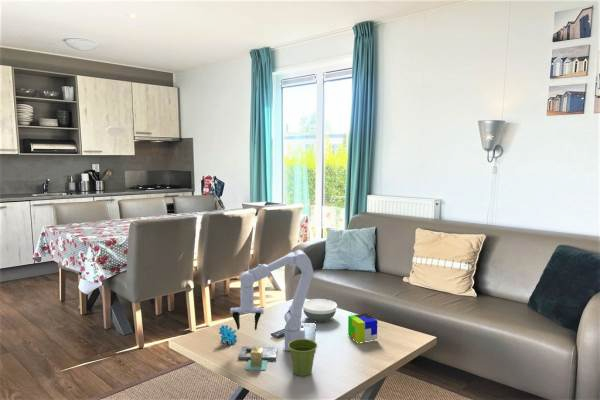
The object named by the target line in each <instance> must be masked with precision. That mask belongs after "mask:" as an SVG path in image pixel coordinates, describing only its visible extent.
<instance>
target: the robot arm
mask: <svg viewBox="0 0 600 400" xmlns="http://www.w3.org/2000/svg"><path fill="white" fill-rule="evenodd" d="M285 266H291V267H295V266H296V267H297V268H299V270H300V271H301V274H300V278H299V281H298V283H297V286H296V290H295V293H294V297H293V300H292V303H291V305H290V306H289V307H288V310H287V311H286V312H285V314H284V316H283V317H284V321H285V325H284V341H283V349H282V350H283V351H289V352H290V349H289V347H288V343H289V342H291V341H293V340H296V339H306V327H301V326H302V321H301V319H302V314H303V313H302V311H303V305H304V302H305V301H306V298H307V294H308V292H309V288H310V286H311V282H312V279H313V277H314V268H313V265H312V261H311V259H310V258H309V256H308V255H307V254H306V253H305V251H303V250H302V249H296V250H294V251H291V252H289V253H287V254H285V255H283V256H282V257H280V258H277V259H276V260H274V261H272V262H270V263H268V264H266V263H262V264H261V263H259V264H257V266H256V267H254V268H250V269H247V270H248V271H243V272H242V273H241V274H240V276H239V280H240V306H239V307H231V308H230V310H229V311H230V314H232V319H233V320H234V322H235V325H236V328H237V330H236V331H239V330H240V326H241V324H240V323H241V322H240V321H241V320H240V317H241V316H240V314H254V331H257V329H258V323H259V320H260V318H261V315H264V313H265V311H264V308H263V307H256V306H254V283H257V282H259V281H261V280H263V279H265V278H267V277H269V276H270V274H271V272H273V271H276V270H279V269H281V268H283V267H285Z"/></svg>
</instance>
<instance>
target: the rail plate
mask: <svg viewBox="0 0 600 400" xmlns="http://www.w3.org/2000/svg"><path fill="white" fill-rule="evenodd" d="M252 348H263V360H267V361H274V362H275V361H277V355H278V349H279V348H278V346H253V345H252V346H251V345H250V346H249V345H248V346H247V345H245V346H241V348H240V351H239V354H238V357H237V358H238V359H237V360H238V361H248V360H251V354H247V352H251V350H252Z"/></svg>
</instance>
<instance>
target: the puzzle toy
mask: <svg viewBox="0 0 600 400" xmlns="http://www.w3.org/2000/svg"><path fill="white" fill-rule="evenodd" d="M347 316H348V322H347V323H348V325H347V326H348V327H347V330H348V331H347V336H348V335H349V336H350V337H352V338H353V339H354V340H355V341H357V342H358V343H360V342H365V341H370V340H375V339H377V340H378V319H376V318H375V317H373V316H372V315H370V314H368V313H365V312H364V313H360V314H353V315H347ZM349 336H348V337H349ZM350 337H349V338H350ZM352 338H351V339H352ZM353 339H352V340H353ZM354 340H353V341H354ZM355 341H354V342H355ZM358 343H357V344H358Z"/></svg>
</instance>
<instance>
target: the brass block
mask: <svg viewBox="0 0 600 400" xmlns="http://www.w3.org/2000/svg"><path fill="white" fill-rule="evenodd" d="M250 355H251V367H262V364H263V348H252V350H251V351H250Z"/></svg>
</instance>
